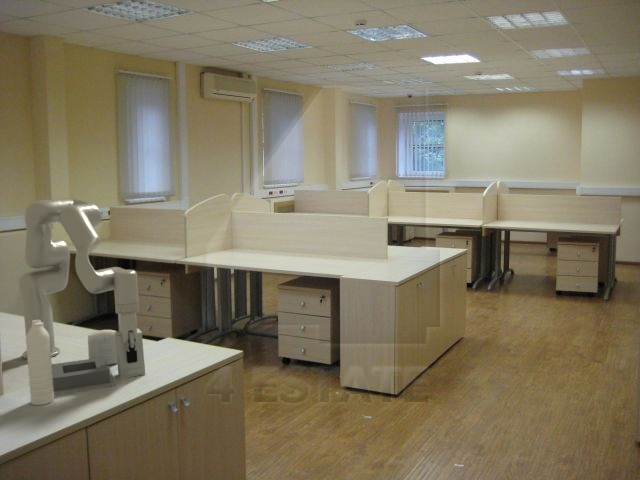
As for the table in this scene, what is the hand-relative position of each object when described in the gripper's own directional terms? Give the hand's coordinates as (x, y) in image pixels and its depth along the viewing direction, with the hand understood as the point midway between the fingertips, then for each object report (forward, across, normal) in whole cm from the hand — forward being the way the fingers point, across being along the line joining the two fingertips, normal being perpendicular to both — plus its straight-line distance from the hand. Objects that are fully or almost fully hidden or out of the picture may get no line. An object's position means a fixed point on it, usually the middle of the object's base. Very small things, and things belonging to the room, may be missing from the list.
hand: (130, 358), depth 217 cm
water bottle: (+6, +14, -27) cm, 31 cm away
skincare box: (+6, 0, 0) cm, 6 cm away
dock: (+5, 0, -16) cm, 17 cm away
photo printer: (+6, -15, -7) cm, 18 cm away
